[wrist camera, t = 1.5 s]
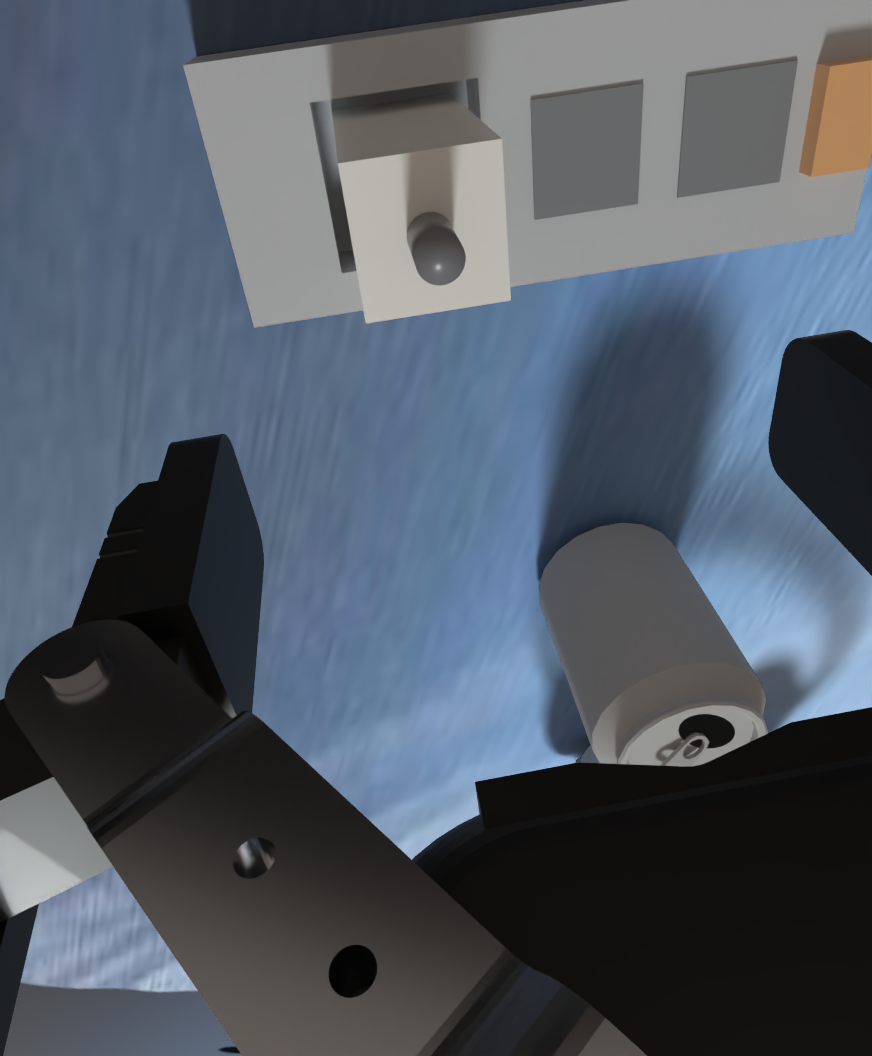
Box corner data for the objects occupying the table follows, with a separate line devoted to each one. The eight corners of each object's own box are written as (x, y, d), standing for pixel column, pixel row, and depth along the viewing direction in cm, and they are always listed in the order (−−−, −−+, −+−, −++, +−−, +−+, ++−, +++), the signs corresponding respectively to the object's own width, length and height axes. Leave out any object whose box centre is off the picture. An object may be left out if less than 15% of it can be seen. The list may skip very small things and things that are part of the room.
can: (701, 552, 40) (823, 734, 30) (602, 640, 43) (685, 831, 33) (604, 487, 36) (706, 669, 27) (505, 588, 40) (566, 783, 30)
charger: (449, 92, 25) (520, 154, 16) (460, 216, 28) (527, 327, 19) (331, 110, 25) (339, 181, 16) (352, 233, 28) (370, 353, 19)
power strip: (854, -39, 25) (929, -42, 22) (809, 212, 30) (866, 238, 27) (196, 56, 24) (179, 68, 21) (259, 298, 29) (252, 336, 26)
